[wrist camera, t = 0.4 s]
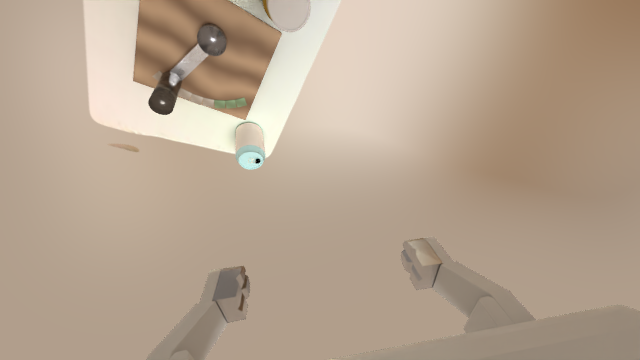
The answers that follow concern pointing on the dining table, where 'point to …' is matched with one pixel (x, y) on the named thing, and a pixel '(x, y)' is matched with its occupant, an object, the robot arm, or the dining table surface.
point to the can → (249, 146)
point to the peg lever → (186, 68)
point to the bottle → (288, 13)
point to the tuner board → (214, 71)
